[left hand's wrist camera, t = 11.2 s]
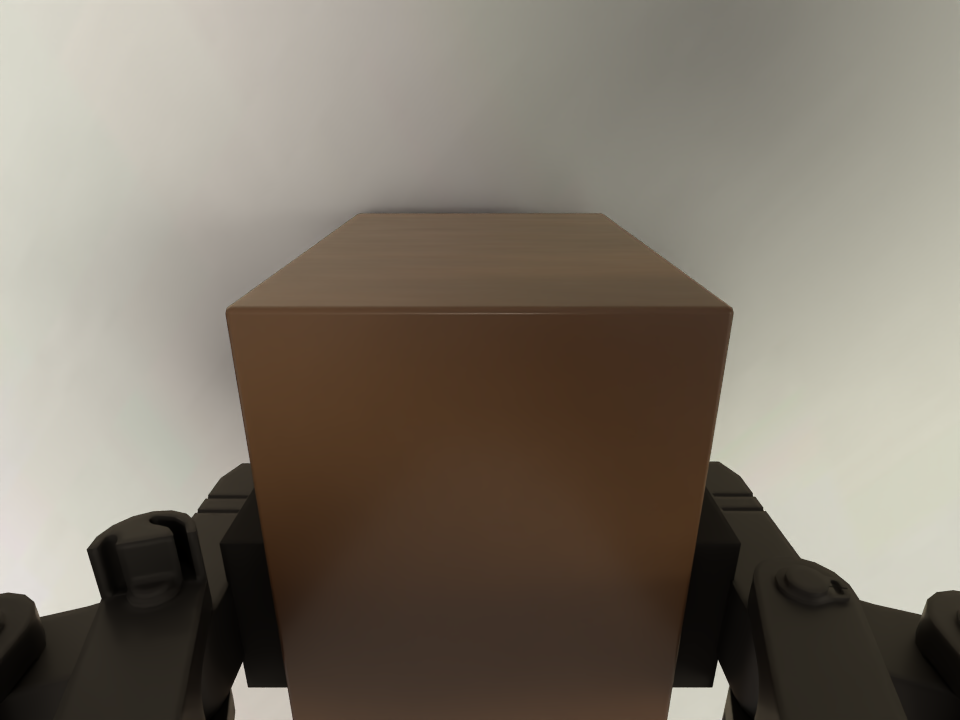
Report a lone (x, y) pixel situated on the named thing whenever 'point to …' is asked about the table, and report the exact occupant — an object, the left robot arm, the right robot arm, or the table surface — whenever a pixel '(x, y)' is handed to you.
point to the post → (479, 464)
